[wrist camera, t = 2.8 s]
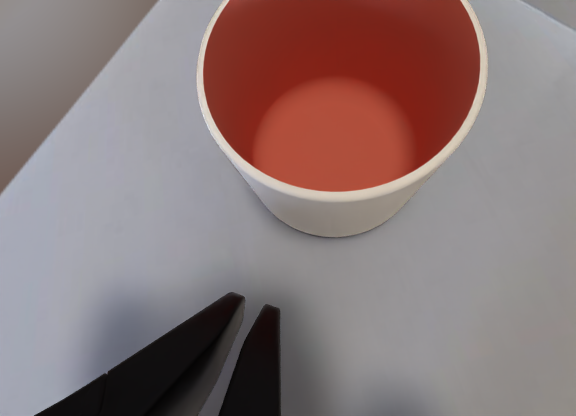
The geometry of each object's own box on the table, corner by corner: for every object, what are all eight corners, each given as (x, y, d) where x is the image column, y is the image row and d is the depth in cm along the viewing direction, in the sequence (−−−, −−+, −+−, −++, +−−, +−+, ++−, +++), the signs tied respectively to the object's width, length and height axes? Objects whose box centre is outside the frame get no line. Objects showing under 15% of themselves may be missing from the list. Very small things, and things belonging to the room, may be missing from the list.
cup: (257, 85, 24) (209, -54, 14) (415, 83, 23) (481, -69, 13) (245, 236, 22) (179, 196, 12) (418, 243, 21) (499, 205, 11)
